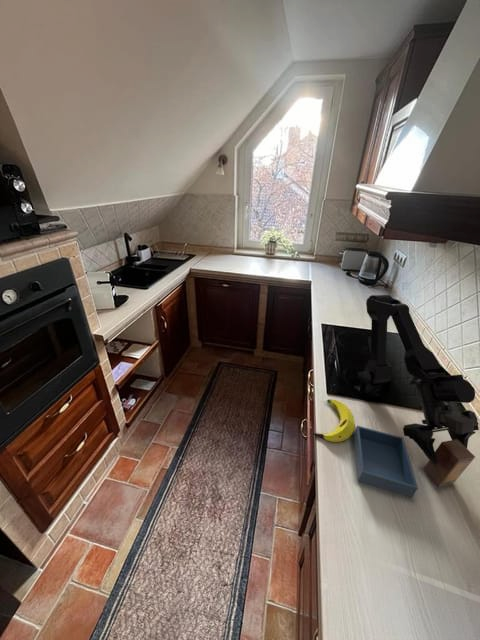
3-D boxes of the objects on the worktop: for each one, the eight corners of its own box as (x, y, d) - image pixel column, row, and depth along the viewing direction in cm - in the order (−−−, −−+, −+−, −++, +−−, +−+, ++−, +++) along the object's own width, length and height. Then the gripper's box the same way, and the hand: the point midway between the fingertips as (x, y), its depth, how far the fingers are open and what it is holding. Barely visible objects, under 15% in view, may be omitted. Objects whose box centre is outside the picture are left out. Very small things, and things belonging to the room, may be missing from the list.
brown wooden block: (422, 469, 73) (441, 441, 67) (436, 466, 74) (457, 438, 68) (437, 488, 69) (459, 460, 62) (452, 485, 70) (476, 457, 63)
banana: (344, 393, 92) (302, 397, 93) (365, 433, 77) (316, 438, 78) (343, 402, 94) (303, 406, 95) (364, 443, 79) (316, 448, 80)
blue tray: (352, 435, 82) (356, 425, 80) (397, 447, 79) (403, 437, 77) (357, 482, 70) (362, 471, 67) (410, 498, 66) (418, 488, 64)
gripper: (428, 407, 62) (448, 478, 58) (490, 398, 65) (512, 465, 61) (395, 404, 73) (410, 464, 69) (449, 396, 76) (466, 453, 72)
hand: (449, 461), depth 68 cm, fingers open, 9 cm apart
